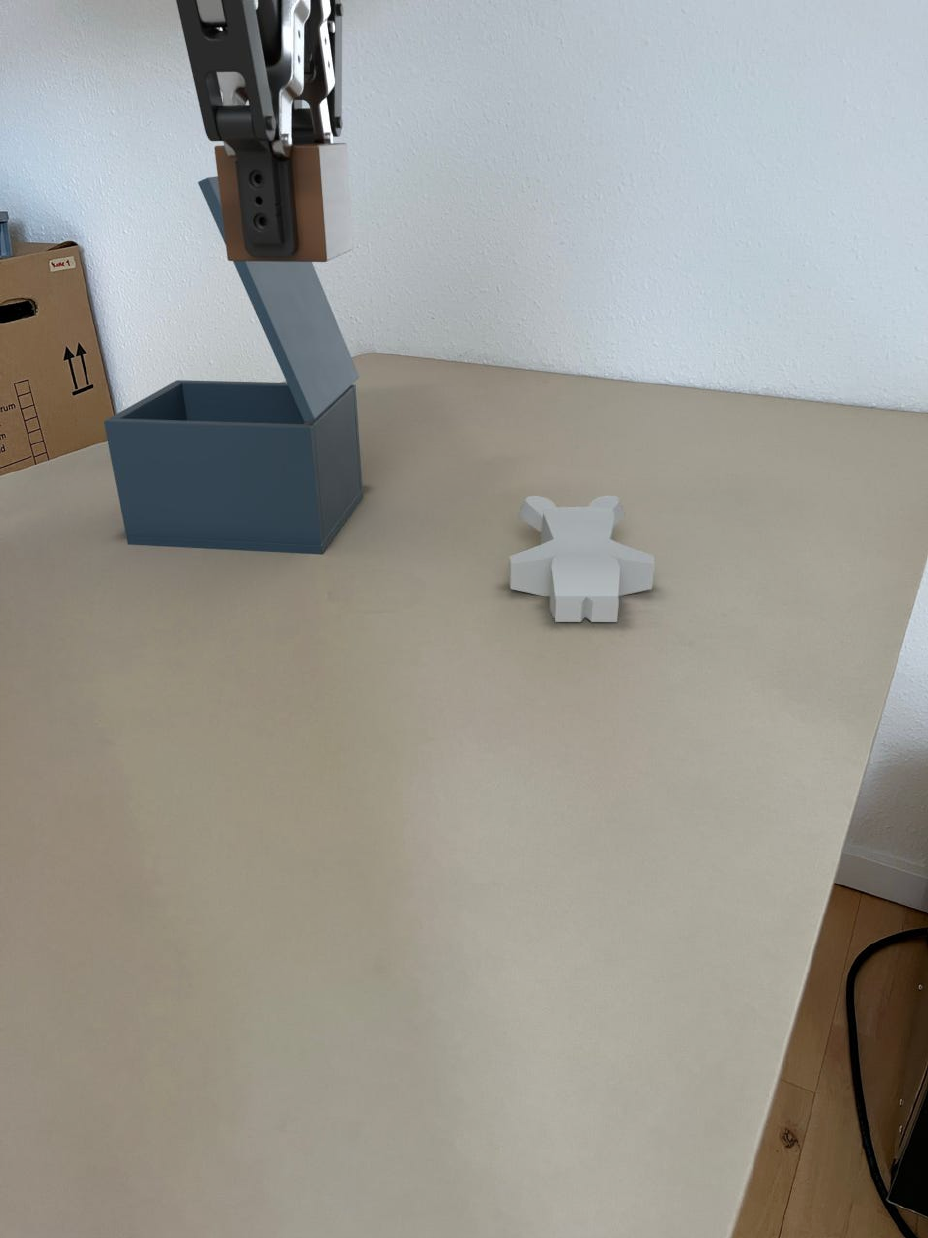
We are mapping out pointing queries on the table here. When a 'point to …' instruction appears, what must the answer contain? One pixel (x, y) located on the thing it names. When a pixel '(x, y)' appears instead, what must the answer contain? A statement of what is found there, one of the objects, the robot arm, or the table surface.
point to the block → (298, 203)
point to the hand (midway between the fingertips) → (291, 246)
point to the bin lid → (294, 323)
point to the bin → (235, 468)
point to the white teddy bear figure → (579, 560)
